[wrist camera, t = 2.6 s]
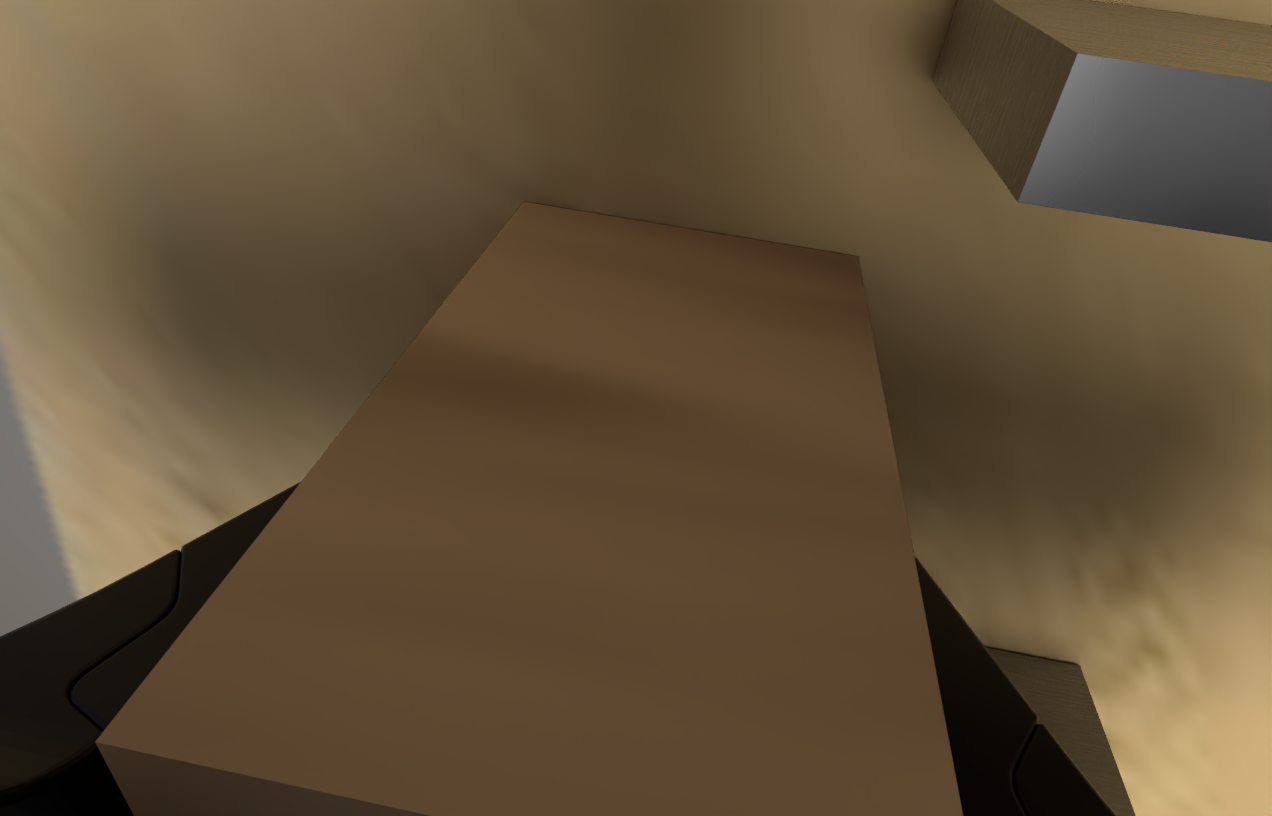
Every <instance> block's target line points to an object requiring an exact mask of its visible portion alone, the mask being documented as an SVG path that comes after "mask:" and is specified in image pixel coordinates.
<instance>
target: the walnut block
mask: <svg viewBox="0 0 1272 816" xmlns="http://www.w3.org/2000/svg"><path fill="white" fill-rule="evenodd" d="M95 743H96V745H97V746H98V748H99V750H100V752H101V754H102V756H103V758H104V760H105V762H106V764H107V766H108V767H109V769H110V771H111V773H112V775H113V777H114V779H115V781H116V783H117V785H118V786H119V788H120V790H121V792H122V794H123V796H124V798H125V800H126V802H127V804H128V806H129V807H130V809H131V811H132V813H133V815H134V816H963V812H962V807H961V802H960V796H959V791H958V786H957V781H956V775H955V770H954V765H953V759H952V754H951V749H950V743H949V738H948V733H947V727H946V722H945V717H944V711H943V706H942V701H941V695H940V690H939V685H938V679H937V674H936V669H935V663H934V658H933V653H932V647H931V642H930V637H929V631H928V626H927V621H926V615H925V610H924V605H923V599H922V594H921V589H920V583H919V578H918V573H917V567H916V562H915V557H914V552H913V546H912V541H911V536H910V530H909V525H908V520H907V514H906V509H905V504H904V498H903V493H902V488H901V482H900V477H899V472H898V466H897V461H896V456H895V450H894V445H893V440H892V434H891V429H890V424H889V418H888V413H887V408H886V402H885V397H884V392H883V386H882V381H881V376H880V370H879V365H878V360H877V354H876V349H875V344H874V338H873V333H872V328H871V323H870V317H869V312H868V307H867V301H866V296H865V291H864V285H863V280H862V275H861V269H860V264H859V259H858V256H852V255H846V254H839V253H833V252H827V251H821V250H815V249H809V248H803V247H797V246H791V245H785V244H779V243H772V242H766V241H760V240H754V239H748V238H742V237H736V236H730V235H724V234H718V233H712V232H706V231H699V230H693V229H687V228H681V227H675V226H669V225H663V224H657V223H651V222H645V221H639V220H632V219H626V218H620V217H614V216H608V215H602V214H596V213H590V212H584V211H578V210H572V209H566V208H559V207H553V206H547V205H541V204H535V203H529V202H523V203H522V204H521V205H520V207H519V208H518V209H517V211H516V212H515V213H514V214H513V216H512V217H511V218H510V219H509V221H508V222H507V223H506V224H505V226H504V227H503V228H502V229H501V231H500V232H499V233H498V234H497V236H496V237H495V238H494V240H493V241H492V242H491V243H490V245H489V246H488V247H487V248H486V250H485V251H484V252H483V253H482V255H481V256H480V257H479V258H478V260H477V261H476V262H475V263H474V265H473V266H472V267H471V269H470V270H469V271H468V272H467V274H466V275H465V276H464V277H463V279H462V280H461V281H460V282H459V284H458V285H457V286H456V287H455V289H454V290H453V291H452V292H451V294H450V295H449V296H448V298H447V299H446V300H445V301H444V303H443V304H442V305H441V306H440V308H439V309H438V310H437V311H436V313H435V314H434V315H433V316H432V318H431V319H430V320H429V322H428V323H427V324H426V325H425V327H424V328H423V329H422V330H421V332H420V333H419V334H418V335H417V337H416V338H415V339H414V340H413V342H412V343H411V344H410V345H409V347H408V348H407V349H406V351H405V352H404V353H403V354H402V356H401V357H400V358H399V359H398V361H397V362H396V363H395V364H394V366H393V367H392V368H391V369H390V371H389V372H388V373H387V374H386V376H385V377H384V378H383V380H382V381H381V382H380V383H379V385H378V386H377V387H376V388H375V390H374V391H373V392H372V393H371V395H370V396H369V397H368V398H367V400H366V401H365V402H364V403H363V405H362V406H361V407H360V409H359V410H358V411H357V412H356V414H355V415H354V416H353V417H352V419H351V420H350V421H349V422H348V424H347V425H346V426H345V427H344V429H343V430H342V431H341V432H340V434H339V435H338V436H337V438H336V439H335V440H334V441H333V443H332V444H331V445H330V446H329V448H328V449H327V450H326V451H325V453H324V454H323V455H322V456H321V458H320V459H319V460H318V461H317V463H316V464H315V465H314V467H313V468H312V469H311V470H310V472H309V473H308V474H307V475H306V477H305V478H304V479H303V480H302V482H301V483H300V484H299V485H298V487H297V488H296V489H295V490H294V492H293V493H292V494H291V496H290V497H289V498H288V499H287V501H286V502H285V503H284V504H283V506H282V507H281V508H280V509H279V511H278V512H277V513H276V514H275V516H274V517H273V518H272V519H271V521H270V522H269V523H268V525H267V526H266V527H265V528H264V530H263V531H262V532H261V533H260V535H259V536H258V537H257V538H256V540H255V541H254V542H253V543H252V545H251V546H250V547H249V548H248V550H247V551H246V552H245V554H244V555H243V556H242V557H241V559H240V560H239V561H238V562H237V564H236V565H235V566H234V567H233V569H232V570H231V571H230V572H229V574H228V575H227V576H226V577H225V579H224V580H223V581H222V583H221V584H220V585H219V586H218V588H217V589H216V590H215V591H214V593H213V594H212V595H211V596H210V598H209V599H208V600H207V601H206V603H205V604H204V605H203V606H202V608H201V609H200V610H199V612H198V613H197V614H196V615H195V617H194V618H193V619H192V620H191V622H190V623H189V624H188V625H187V627H186V628H185V629H184V630H183V632H182V633H181V634H180V635H179V637H178V638H177V639H176V641H175V642H174V643H173V644H172V646H171V647H170V648H169V649H168V651H167V652H166V653H165V654H164V656H163V657H162V658H161V659H160V661H159V662H158V663H157V664H156V666H155V667H154V668H153V670H152V671H151V672H150V673H149V675H148V676H147V677H146V678H145V680H144V681H143V682H142V683H141V685H140V686H139V687H138V688H137V690H136V691H135V692H134V693H133V695H132V696H131V697H130V699H129V700H128V701H127V702H126V704H125V705H124V706H123V707H122V709H121V710H120V711H119V712H118V714H117V715H116V716H115V717H114V719H113V720H112V721H111V722H110V724H109V725H108V726H107V728H106V729H105V730H104V731H103V733H102V734H101V735H100V736H99V738H98V739H97V740H96V741H95Z"/></svg>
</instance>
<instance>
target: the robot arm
mask: <svg viewBox="0 0 1272 816" xmlns="http://www.w3.org/2000/svg"><path fill="white" fill-rule="evenodd" d="M301 482H302V481H301ZM301 482H299V483H298V484H296V485H294V486H292V487H290V488H288V489H287V490H285V491H283V492H281V493H279V494H277V495H275V496H274V497H272V498H270V499H268V500H266V501H264V502H263V503H261V504H259V505H257V506H255V507H253V508H252V509H250V510H248V511H246V512H244V513H242V514H241V515H239V516H237V517H235V518H233V519H231V520H229V521H228V522H226V523H224V524H222V525H220V526H218V527H217V528H215V529H213V530H211V531H209V532H207V533H206V534H204V535H202V536H200V537H198V538H196V539H194V540H193V541H191V542H189V543H187V544H185V545H184V546H183V547H182V549H181V552H180V551H179V550H174V551H172V552H170V553H168V554H166V555H165V556H163V557H161V558H159V559H157V560H155V561H154V562H152V563H150V564H148V565H146V566H144V567H142V568H140V569H139V570H137V571H135V572H133V573H131V574H129V575H127V576H125V577H123V578H121V579H119V580H117V581H115V582H113V583H112V584H110V585H108V586H106V587H104V588H102V589H100V590H98V591H96V592H94V593H92V594H90V595H88V596H86V597H84V598H82V599H80V600H77V601H75V602H73V603H71V604H69V605H67V606H65V607H63V608H61V609H59V610H56V611H54V612H52V613H50V614H48V615H46V616H44V617H42V618H40V619H38V620H35V621H33V622H31V623H29V624H27V625H25V626H22V627H20V628H18V629H16V630H14V631H12V632H9V633H7V634H5V635H3V636H0V816H134V815H133V813H132V811H131V809H130V807H129V806H128V804H127V802H126V800H125V798H124V796H123V794H122V792H121V790H120V788H119V786H118V785H117V783H116V781H115V779H114V777H113V775H112V773H111V771H110V769H109V767H108V766H107V764H106V762H105V760H104V758H103V756H102V754H101V752H100V750H99V748H98V746H97V745H96V743H95V741H96V740H97V739H98V738H99V736H100V735H101V734H102V733H103V731H104V730H105V729H106V728H107V726H108V725H109V724H110V722H111V721H112V720H113V719H114V717H115V716H116V715H117V714H118V712H119V711H120V710H121V709H122V707H123V706H124V705H125V704H126V702H127V701H128V700H129V699H130V697H131V696H132V695H133V693H134V692H135V691H136V690H137V688H138V687H139V686H140V685H141V683H142V682H143V681H144V680H145V678H146V677H147V676H148V675H149V673H150V672H151V671H152V670H153V668H154V667H155V666H156V664H157V663H158V662H159V661H160V659H161V658H162V657H163V656H164V654H165V653H166V652H167V651H168V649H169V648H170V647H171V646H172V644H173V643H174V642H175V641H176V639H177V638H178V637H179V635H180V634H181V633H182V632H183V630H184V629H185V628H186V627H187V625H188V624H189V623H190V622H191V620H192V619H193V618H194V617H195V615H196V614H197V613H198V612H199V610H200V609H201V608H202V606H203V605H204V604H205V603H206V601H207V600H208V599H209V598H210V596H211V595H212V594H213V593H214V591H215V590H216V589H217V588H218V586H219V585H220V584H221V583H222V581H223V580H224V579H225V577H226V576H227V575H228V574H229V572H230V571H231V570H232V569H233V567H234V566H235V565H236V564H237V562H238V561H239V560H240V559H241V557H242V556H243V555H244V554H245V552H246V551H247V550H248V548H249V547H250V546H251V545H252V543H253V542H254V541H255V540H256V538H257V537H258V536H259V535H260V533H261V532H262V531H263V530H264V528H265V527H266V526H267V525H268V523H269V522H270V521H271V519H272V518H273V517H274V516H275V514H276V513H277V512H278V511H279V509H280V508H281V507H282V506H283V504H284V503H285V502H286V501H287V499H288V498H289V497H290V496H291V494H292V493H293V492H294V490H295V489H296V488H297V487H298V485H299V484H300V483H301ZM914 557H915V555H914ZM915 562H916V567H917V573H918V578H919V583H920V589H921V594H922V599H923V605H924V610H925V615H926V621H927V626H928V631H929V637H930V642H931V647H932V653H933V658H934V663H935V669H936V674H937V679H938V685H939V690H940V695H941V701H942V706H943V711H944V717H945V722H946V727H947V733H948V738H949V743H950V749H951V754H952V759H953V765H954V770H955V775H956V781H957V786H958V791H959V796H960V802H961V807H962V812H963V816H1117V814H1116V813H1115V812H1114V811H1113V810H1112V809H1111V808H1110V806H1109V805H1108V804H1107V803H1106V802H1105V800H1104V799H1103V798H1102V797H1101V795H1100V794H1099V793H1098V792H1097V791H1096V789H1095V788H1094V787H1093V786H1092V784H1091V783H1090V782H1089V781H1088V779H1087V778H1086V777H1085V776H1084V774H1083V773H1082V772H1081V771H1080V769H1079V768H1078V767H1077V766H1076V764H1075V763H1074V762H1073V761H1072V759H1071V758H1070V757H1069V756H1068V754H1067V753H1066V752H1065V750H1064V749H1063V748H1062V747H1061V745H1060V744H1059V743H1058V741H1057V740H1056V739H1055V737H1054V736H1053V735H1052V733H1051V732H1050V731H1049V730H1048V728H1047V727H1046V726H1045V725H1044V724H1042V723H1039V724H1038V721H1039V717H1038V716H1037V714H1036V713H1035V712H1034V710H1033V709H1032V708H1031V707H1030V705H1029V704H1028V703H1027V701H1026V700H1025V699H1024V697H1023V696H1022V695H1021V693H1020V692H1019V691H1018V690H1017V688H1016V687H1015V686H1014V684H1013V683H1012V682H1011V680H1010V679H1009V678H1008V677H1007V675H1006V674H1005V673H1004V671H1003V670H1002V669H1001V667H1000V666H999V665H998V663H997V662H996V661H995V660H994V658H993V657H992V656H991V654H990V653H989V652H988V650H987V649H986V648H985V647H984V645H983V644H982V643H981V641H980V640H979V639H978V637H977V636H976V635H975V633H974V632H973V631H972V630H971V628H970V627H969V626H968V624H967V623H966V622H965V620H964V619H963V618H962V617H961V615H960V614H959V613H958V611H957V610H956V609H955V607H954V606H953V605H952V603H951V602H950V601H949V600H948V598H947V597H946V596H945V594H944V593H943V592H942V590H941V589H940V588H939V587H938V585H937V584H936V583H935V581H934V580H933V579H932V577H931V576H930V575H929V573H928V572H927V571H926V570H925V568H924V567H923V566H922V564H921V563H920V562H919V560H918V559H917V558H916V557H915Z"/></svg>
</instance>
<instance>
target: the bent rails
mask: <svg viewBox="0 0 1272 816" xmlns="http://www.w3.org/2000/svg"><path fill="white" fill-rule="evenodd" d="M933 83H934V84H935V86H936V87H937V88H938V90H939V91H940V93H941V94H942V96H943V97H944V98H945V100H946V101H947V103H948V104H949V105H950V107H951V108H952V110H953V111H954V113H955V114H956V115H957V117H958V118H959V120H960V121H961V122H962V124H963V125H964V127H965V128H966V130H967V131H968V132H969V134H970V135H971V137H972V138H973V139H974V141H975V142H976V144H977V145H978V147H979V148H980V149H981V151H982V152H983V154H984V155H985V156H986V158H987V159H988V161H989V162H990V164H991V165H992V166H993V168H994V169H995V171H996V172H997V173H998V175H999V176H1000V178H1001V179H1002V181H1003V182H1004V183H1005V185H1006V186H1007V188H1008V189H1009V190H1010V192H1011V193H1012V195H1013V196H1014V198H1015V199H1016V200H1017V202H1021V203H1027V204H1034V205H1040V206H1046V207H1053V208H1059V209H1065V210H1072V211H1078V212H1084V213H1091V214H1097V215H1103V216H1110V217H1116V218H1122V219H1129V220H1135V221H1141V222H1148V223H1154V224H1160V225H1167V226H1173V227H1179V228H1186V229H1192V230H1198V231H1205V232H1211V233H1217V234H1224V235H1230V236H1236V237H1243V238H1249V239H1255V240H1262V241H1268V242H1272V26H1269V25H1262V24H1255V23H1248V22H1240V21H1233V20H1226V19H1219V18H1212V17H1205V16H1198V15H1190V14H1183V13H1176V12H1169V11H1162V10H1155V9H1148V8H1140V7H1133V6H1126V5H1119V4H1112V3H1105V2H1098V1H1090V0H958V1H957V4H956V7H955V10H954V14H953V17H952V20H951V23H950V27H949V30H948V33H947V36H946V39H945V43H944V46H943V49H942V52H941V55H940V59H939V62H938V65H937V68H936V72H935V75H934V78H933ZM985 648H986V647H985ZM986 649H987V650H988V652H989V653H990V654H991V656H992V657H993V658H994V660H995V661H996V662H997V663H998V665H999V666H1000V667H1001V669H1002V670H1003V671H1004V673H1005V674H1006V675H1007V677H1008V678H1009V679H1010V680H1011V682H1012V683H1013V684H1014V686H1015V687H1016V688H1017V690H1018V691H1019V692H1020V693H1021V695H1022V696H1023V697H1024V699H1025V700H1026V701H1027V703H1028V704H1029V705H1030V707H1031V708H1032V709H1033V710H1034V712H1035V713H1036V714H1037V716H1038V717H1039V721H1038V724H1039V723H1042V724H1044V725H1045V726H1046V727H1047V728H1048V730H1049V731H1050V732H1051V733H1052V735H1053V736H1054V737H1055V739H1056V740H1057V741H1058V743H1059V744H1060V745H1061V747H1062V748H1063V749H1064V750H1065V752H1066V753H1067V754H1068V756H1069V757H1070V758H1071V759H1072V761H1073V762H1074V763H1075V764H1076V766H1077V767H1078V768H1079V769H1080V771H1081V772H1082V773H1083V774H1084V776H1085V777H1086V778H1087V779H1088V781H1089V782H1090V783H1091V784H1092V786H1093V787H1094V788H1095V789H1096V791H1097V792H1098V793H1099V794H1100V795H1101V797H1102V798H1103V799H1104V800H1105V802H1106V803H1107V804H1108V805H1109V806H1110V808H1111V809H1112V810H1113V811H1114V812H1115V813H1116V814H1117V816H1135V813H1134V810H1133V807H1132V805H1131V802H1130V799H1129V797H1128V794H1127V791H1126V789H1125V786H1124V783H1123V781H1122V778H1121V775H1120V772H1119V770H1118V767H1117V764H1116V762H1115V759H1114V756H1113V754H1112V751H1111V748H1110V746H1109V743H1108V740H1107V737H1106V735H1105V732H1104V729H1103V727H1102V724H1101V721H1100V719H1099V716H1098V713H1097V711H1096V708H1095V705H1094V702H1093V700H1092V697H1091V694H1090V692H1089V689H1088V686H1087V684H1086V681H1085V678H1084V676H1083V673H1082V670H1081V667H1080V666H1078V665H1072V664H1067V663H1062V662H1057V661H1052V660H1047V659H1042V658H1037V657H1032V656H1026V655H1021V654H1016V653H1011V652H1006V651H1001V650H996V649H991V648H986Z"/></svg>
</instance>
